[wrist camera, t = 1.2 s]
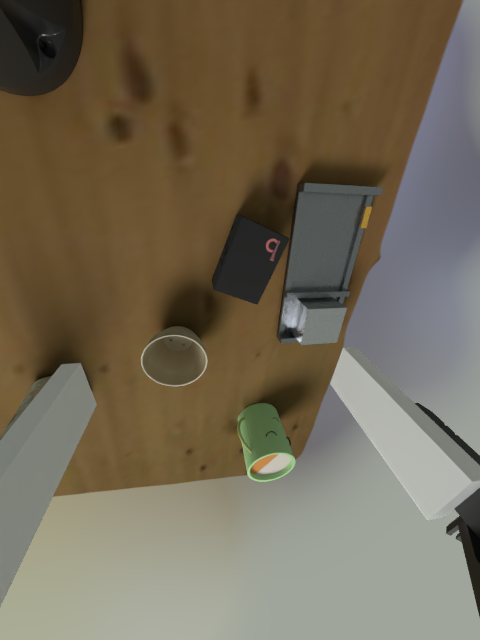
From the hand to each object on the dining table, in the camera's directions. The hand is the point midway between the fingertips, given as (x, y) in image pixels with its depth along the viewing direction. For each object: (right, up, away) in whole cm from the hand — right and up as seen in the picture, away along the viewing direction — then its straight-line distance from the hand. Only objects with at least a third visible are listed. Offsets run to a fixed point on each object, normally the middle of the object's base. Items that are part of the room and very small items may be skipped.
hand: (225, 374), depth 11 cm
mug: (+4, -21, +43) cm, 48 cm away
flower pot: (-11, 0, +29) cm, 31 cm away
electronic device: (+1, +13, +24) cm, 28 cm away
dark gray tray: (+15, +11, +27) cm, 33 cm away
